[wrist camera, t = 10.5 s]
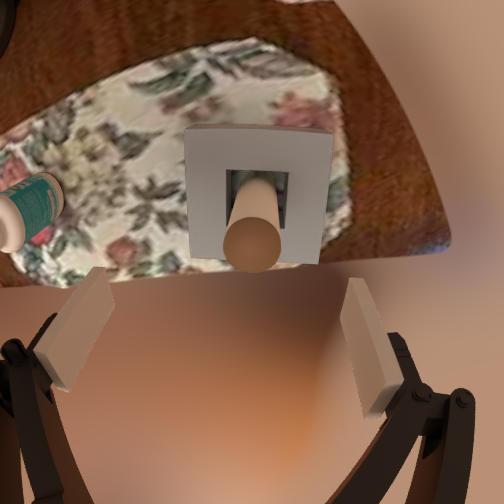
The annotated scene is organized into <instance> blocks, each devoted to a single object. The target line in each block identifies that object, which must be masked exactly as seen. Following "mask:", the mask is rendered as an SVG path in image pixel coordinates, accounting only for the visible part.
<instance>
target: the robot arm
mask: <svg viewBox="0 0 504 504" xmlns="http://www.w3.org/2000/svg"><path fill="white" fill-rule="evenodd" d="M14 20H15V2H14V0H0V58H1V56H2V54H3V52H4V50H5V48H6V46H7V44H8V41H9V39H10V36H11V33H12V29H13V25H14ZM115 306H116V305H115V302H114V298H113V295H112V292H111V288H110V284H109V281H108V277H107V273H106V270H105V267H93V268H92V269H91V271H90V272H89V273H88V274H87V276H86V277H85V278H84V279H83V281H82V282H81V283H80V285H79V286H78V287H77V288H76V290H75V291H74V293H73V294H72V295H71V296H70V298H69V299H68V301H67V302H66V303H65V304H64V306H63V307H62V309H61V310H60V311H59V313H54V314H53V315H51V316H50V317H49V318H48V319H47V320H46V321H45V323H44V324H43V327H41V328H40V330H39V332H38V333H37V334H36V336H35V337H34V339H33V340H32V341H31V343H30V345H29V346H28V347H27V349H25V347H24V345H23V343H22V342H21V341H20V340H19V339H15V338H14V339H10V340H8V341H6V342H5V343H4V345H3V346H2V347H1V350H0V353H1V355H2V356H3V358H4V359H5V360H0V504H24V497H23V488H22V477H21V458H20V448H21V452H22V456H23V460H24V464H25V468H26V471H27V474H28V478H29V481H30V484H31V487H32V491H33V493H34V497H35V500H34V501H33V502H32V503H31V504H94V502H93V500H92V498H91V496H90V494H89V492H88V490H87V487H86V485H85V483H84V481H83V479H82V476H81V474H80V472H79V469H78V467H77V465H76V462H75V459H74V457H73V454H72V451H71V449H70V446H69V443H68V440H67V437H66V435H65V432H64V429H63V425H62V422H61V419H60V416H59V412H58V409H57V405H56V402H55V398H54V394H53V391H52V389H51V387H50V386H51V384H52V382H53V383H54V384H55V386H56V387H57V388H58V389H59V390H62V391H65V392H69V393H70V392H71V390H72V387H73V386H74V383H75V381H76V379H77V377H78V375H79V373H80V371H81V369H82V367H83V365H84V363H85V361H86V359H87V357H88V356H89V354H90V352H91V350H92V348H93V346H94V344H95V342H96V341H97V339H98V337H99V335H100V333H101V331H102V330H103V328H104V326H105V324H106V322H107V320H108V319H109V317H110V315H111V313H112V312H113V310H114V308H115ZM340 320H341V324H342V328H343V332H344V335H345V339H346V343H347V347H348V351H349V355H350V359H351V363H352V367H353V371H354V376H355V380H356V384H357V388H358V393H359V398H360V402H361V407H362V412H363V416H364V419H370V418H378V417H381V415H382V414H383V413H384V411H385V412H386V416H387V419H386V420H385V421H384V423H383V424H382V425H381V427H380V428H379V429H380V430H379V431H378V433H377V434H376V436H375V437H374V439H373V440H372V442H371V443H370V445H369V446H368V448H367V449H366V451H365V452H364V454H363V455H362V457H361V458H360V459H359V461H358V462H357V464H356V465H355V466H354V468H353V469H352V471H351V472H350V473H349V474H348V476H347V477H346V479H345V480H344V481H343V482H342V484H341V485H340V486H339V487H338V489H337V490H336V491H335V492H334V494H333V495H332V496H331V497H330V498H329V500H328V501H327V502H326V503H325V504H379V503H380V501H381V500H382V498H383V497H384V495H385V494H386V492H387V491H388V489H389V488H390V486H391V484H392V483H393V481H394V479H395V478H396V476H397V474H398V473H399V471H400V469H401V467H402V466H403V464H404V462H405V460H406V458H407V457H408V455H409V453H410V451H411V449H412V447H413V445H414V443H415V441H416V439H417V437H418V435H420V436H422V441H421V446H420V450H419V455H418V459H417V463H416V467H415V471H414V475H413V479H412V482H411V486H410V489H409V492H408V496H407V499H406V502H405V504H465V499H466V494H467V489H468V483H469V477H470V470H471V462H472V453H473V442H474V428H475V398H474V396H473V395H472V393H471V392H470V391H468V390H467V389H464V388H458V389H455V390H454V391H453V392H452V393H451V395H448V394H440V393H435V392H433V390H432V389H431V387H429V386H428V385H427V384H425V383H422V381H421V379H420V376H419V374H418V371H417V369H416V367H415V364H414V361H413V359H412V357H411V354H410V352H409V350H408V347H407V345H406V342H405V340H404V339H403V338H402V337H401V336H400V335H399V334H398V333H397V332H394V333H386V330H385V328H384V325H383V323H382V321H381V318H380V315H379V313H378V311H377V308H376V306H375V304H374V301H373V299H372V296H371V294H370V292H369V290H368V287H367V285H366V283H365V281H364V279H363V278H350V279H349V283H348V287H347V291H346V296H345V299H344V303H343V307H342V311H341V315H340Z"/></svg>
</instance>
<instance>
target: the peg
mask: <svg viewBox="0 0 504 504" xmlns="http://www.w3.org/2000/svg"><path fill="white" fill-rule="evenodd" d="M223 252H224V255H225V257H226V259H227V261H228V262H229V263H230V264H231V265H232V266H233V267H235V268H236V269H238V270H240V271H243V272H247V273H258V272H263V271H265V270H267V269H269V268H271V267H272V266H273V265H274V264H275V263H276V262H277V260H278V259H279V257H280V254H281V238H280V227H279V215H278V204H277V193H276V183H275V180H274V177H273V176H272V175H271V174H270V173H269V172H268V171H259V170H250V171H248V172H247V173H245V174H244V176H243V177H242V179H241V183H240V186H239V189H238V193H237V196H236V200H235V203H234V206H233V210H232V213H231V217H230V220H229V224H228V227H227V231H226V234H225V238H224V242H223Z"/></svg>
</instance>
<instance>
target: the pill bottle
mask: <svg viewBox="0 0 504 504" xmlns="http://www.w3.org/2000/svg"><path fill="white" fill-rule="evenodd" d="M63 203H64V198H63V193H62V189H61V187H60V185H59V183H58V182H57V180H56V179H55V178H54V177H53V176H51V175H50V174H47V173H37V174H35V175H33V176H31V177H29V178H27V179H25V180H23V181H21V182H19V183H17V184H16V185H14V186H12V187H10V188H8V189H7V190H5V191H3V192H1V193H0V251H2V252H5V253H12V252H15V251H17V250H18V249H19V248H21V247H22V246H23V245H24V244H25V243H26V242H28V241H29V240H30V239H31V238H32V237H34V236H35V235H36V234H37V233H39V232H40V231H41V230H42V229H44V228H45V227H46V226H48V225H49V224H50V223H51V222H53V221H54V220H55V219H56V218H57V217H58V216H59V215H60V214H61V212H62V209H63Z"/></svg>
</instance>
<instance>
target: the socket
mask: <svg viewBox="0 0 504 504" xmlns="http://www.w3.org/2000/svg"><path fill="white" fill-rule="evenodd" d="M333 139H334V135H333V134H332V133H330V132H328V131H326V130H325V129H317V128H306V127H293V126H278V125H255V124H195V125H193V126H190V127H188V128H186V129H184V143H185V173H186V195H187V212H188V228H189V242H190V254H191V258H200V259H220V260H227V259H226V257H225V255H224V252H223V242H224V238H225V234H226V231H227V227H228V224H229V220H230V217H231V213H232V210H233V209H231V173H232V170H259V171H280V172H285V182H284V197H283V211H278V215H279V227H280V238H281V254H280V257H279V259H278V260H277V262H282V263H305V264H318V260H319V254H320V247H321V241H322V234H323V227H324V219H325V212H326V204H327V196H328V188H329V179H330V170H331V160H332V150H333Z"/></svg>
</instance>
